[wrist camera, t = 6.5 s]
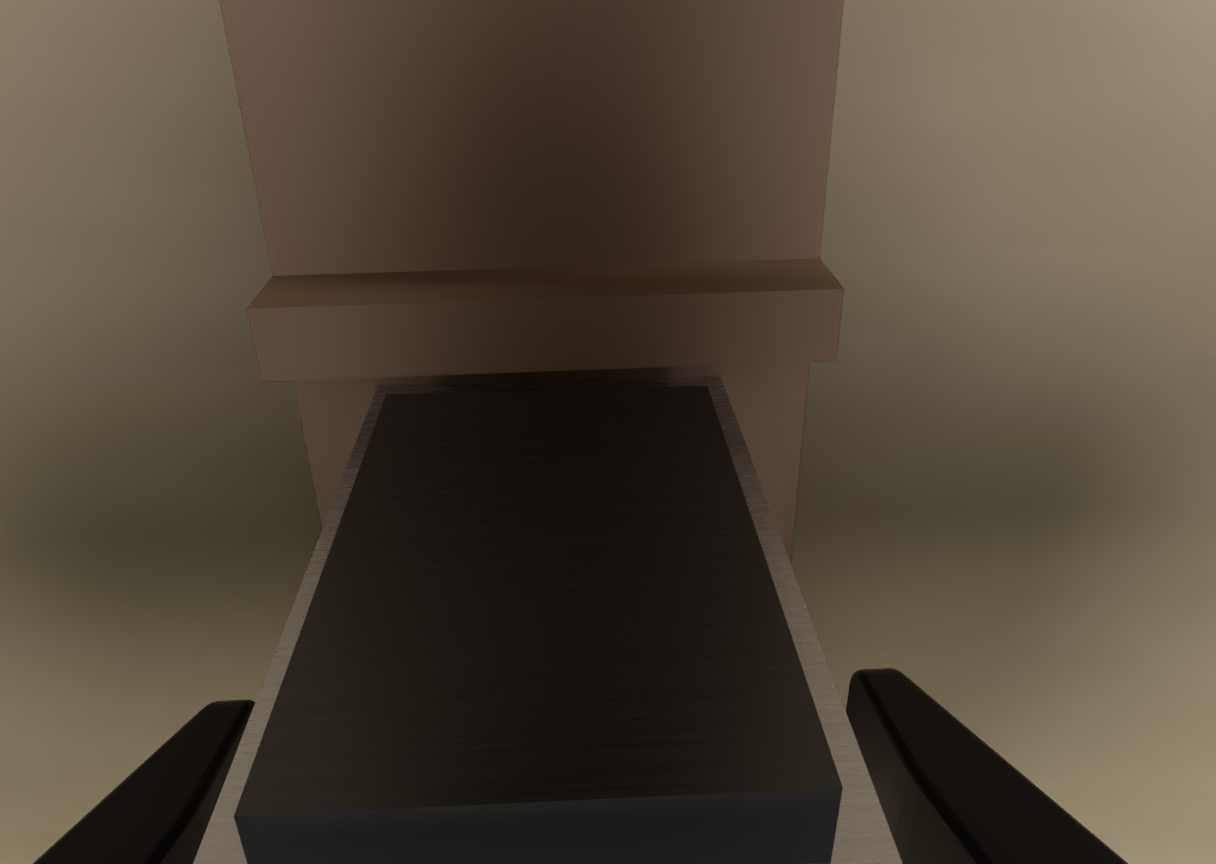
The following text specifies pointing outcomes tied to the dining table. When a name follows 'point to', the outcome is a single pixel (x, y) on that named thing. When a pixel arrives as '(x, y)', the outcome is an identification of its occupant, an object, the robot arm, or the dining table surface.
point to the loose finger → (549, 650)
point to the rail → (541, 202)
